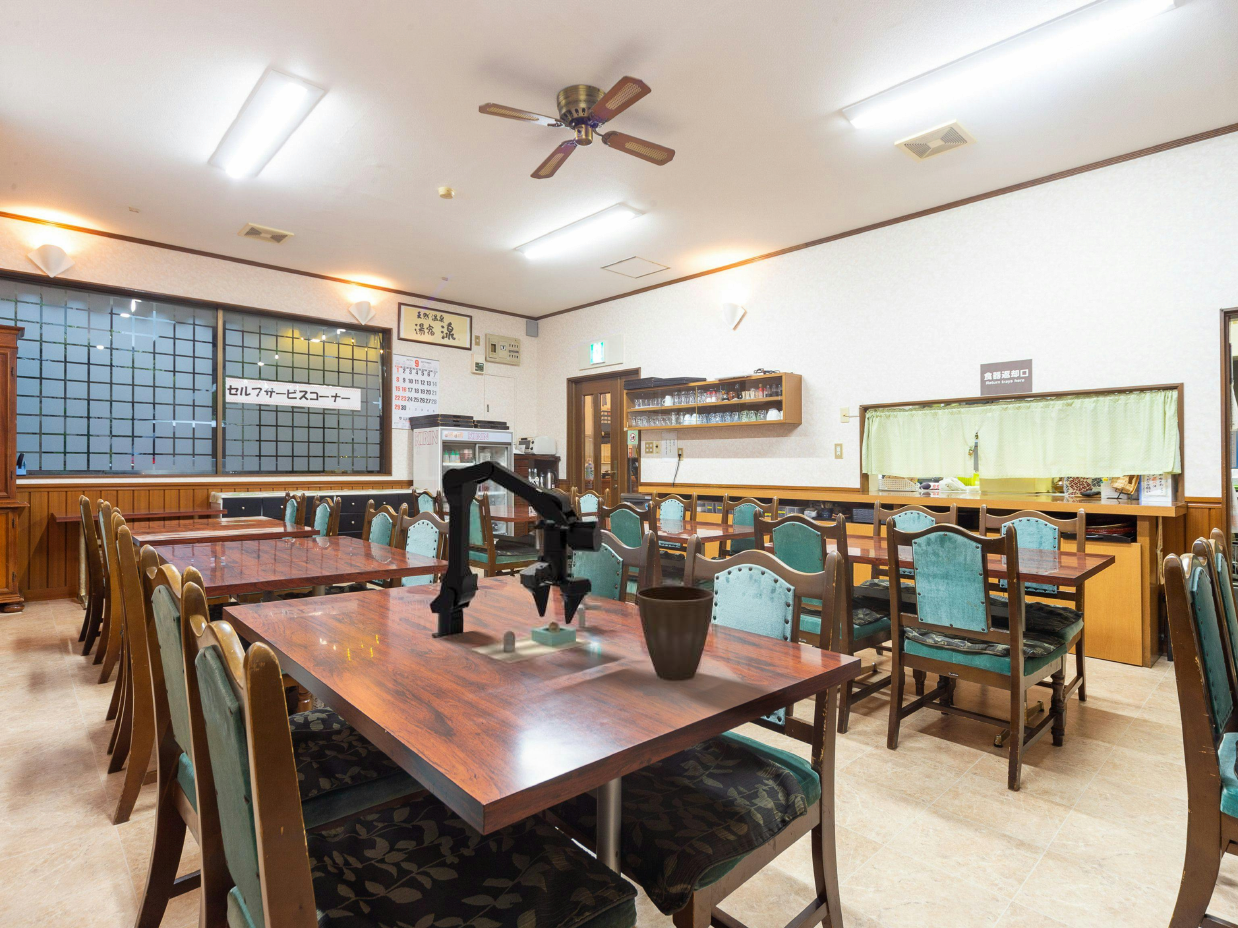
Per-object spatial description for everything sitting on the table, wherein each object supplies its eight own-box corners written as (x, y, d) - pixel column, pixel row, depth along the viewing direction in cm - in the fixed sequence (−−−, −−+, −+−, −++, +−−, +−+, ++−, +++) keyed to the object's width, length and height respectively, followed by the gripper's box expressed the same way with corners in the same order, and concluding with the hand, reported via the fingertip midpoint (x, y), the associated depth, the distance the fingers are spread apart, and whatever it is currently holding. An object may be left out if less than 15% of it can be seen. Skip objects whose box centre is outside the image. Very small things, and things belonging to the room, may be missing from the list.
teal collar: (531, 640, 144) (531, 629, 144) (556, 635, 148) (556, 624, 148) (551, 646, 139) (551, 635, 139) (576, 640, 143) (576, 629, 144)
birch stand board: (470, 655, 137) (470, 628, 137) (551, 637, 152) (552, 613, 152) (508, 671, 127) (508, 641, 127) (591, 649, 142) (591, 623, 142)
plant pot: (666, 693, 115) (666, 603, 115) (621, 670, 127) (622, 589, 127) (729, 679, 123) (730, 595, 123) (681, 659, 135) (682, 583, 135)
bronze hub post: (546, 640, 144) (546, 621, 144) (554, 638, 145) (554, 620, 145) (553, 642, 142) (553, 623, 142) (561, 640, 143) (561, 621, 144)
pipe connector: (600, 632, 157) (600, 591, 158) (559, 631, 158) (560, 590, 158) (602, 622, 167) (602, 583, 168) (564, 621, 168) (564, 583, 168)
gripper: (501, 549, 145) (500, 618, 144) (553, 557, 131) (552, 634, 131) (540, 545, 152) (540, 611, 152) (593, 553, 139) (593, 625, 139)
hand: (554, 620), depth 143 cm, fingers open, 9 cm apart
